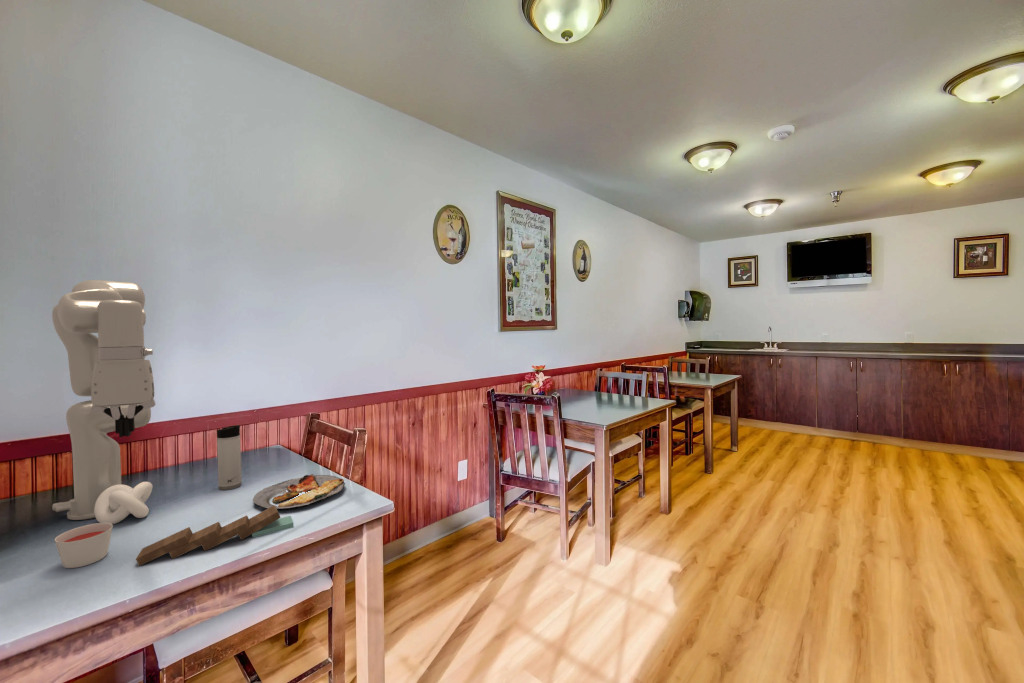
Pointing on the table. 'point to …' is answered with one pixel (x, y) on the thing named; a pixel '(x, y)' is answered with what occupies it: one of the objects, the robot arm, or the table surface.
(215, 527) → the domino
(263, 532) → the domino
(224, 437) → the travel mug
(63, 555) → the candle
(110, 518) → the white knot
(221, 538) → the domino
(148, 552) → the domino
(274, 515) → the domino
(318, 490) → the food plate
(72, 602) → the table surface
